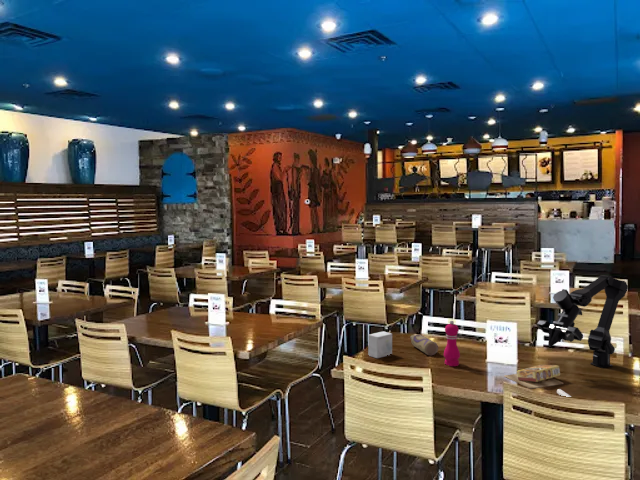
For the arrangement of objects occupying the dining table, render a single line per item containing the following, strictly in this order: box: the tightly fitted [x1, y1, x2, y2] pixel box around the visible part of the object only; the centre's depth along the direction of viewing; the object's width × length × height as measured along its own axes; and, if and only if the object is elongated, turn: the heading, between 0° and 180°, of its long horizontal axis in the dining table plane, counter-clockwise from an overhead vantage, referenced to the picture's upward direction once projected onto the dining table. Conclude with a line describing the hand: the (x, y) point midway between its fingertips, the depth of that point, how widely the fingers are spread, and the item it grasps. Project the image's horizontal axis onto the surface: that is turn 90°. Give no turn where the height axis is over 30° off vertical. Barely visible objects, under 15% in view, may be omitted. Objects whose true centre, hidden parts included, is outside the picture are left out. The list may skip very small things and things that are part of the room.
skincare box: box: [367, 330, 393, 359], centre depth 258 cm, size 10×6×10 cm, turn 129°
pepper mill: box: [443, 320, 461, 367], centre depth 241 cm, size 7×7×20 cm
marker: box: [556, 388, 572, 397], centre depth 194 cm, size 18×2×2 cm, turn 3°
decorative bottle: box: [409, 334, 439, 356], centre depth 269 cm, size 26×8×7 cm, turn 12°
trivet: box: [503, 373, 564, 390], centre depth 219 cm, size 16×16×1 cm
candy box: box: [516, 364, 561, 382], centre depth 218 cm, size 9×4×15 cm
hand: (549, 346), depth 220 cm, fingers closed
